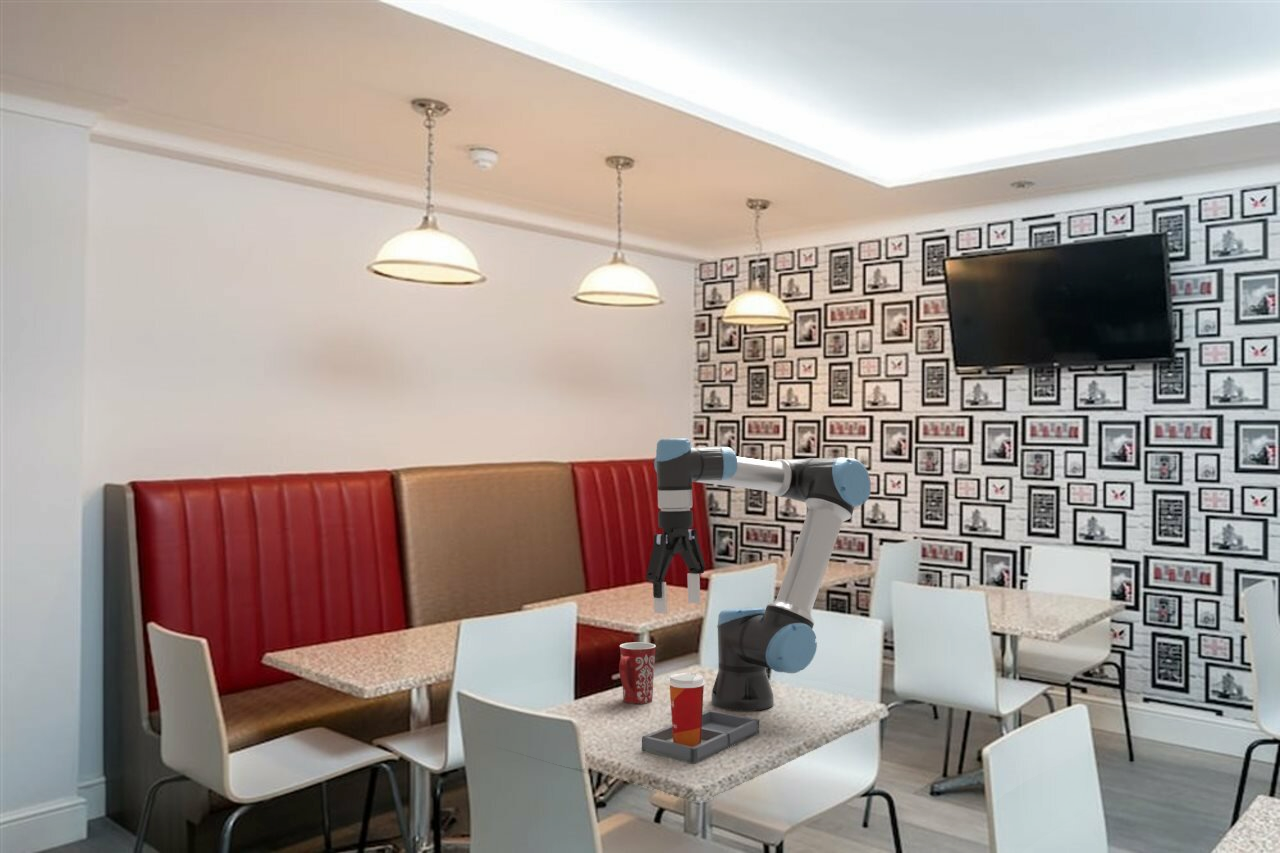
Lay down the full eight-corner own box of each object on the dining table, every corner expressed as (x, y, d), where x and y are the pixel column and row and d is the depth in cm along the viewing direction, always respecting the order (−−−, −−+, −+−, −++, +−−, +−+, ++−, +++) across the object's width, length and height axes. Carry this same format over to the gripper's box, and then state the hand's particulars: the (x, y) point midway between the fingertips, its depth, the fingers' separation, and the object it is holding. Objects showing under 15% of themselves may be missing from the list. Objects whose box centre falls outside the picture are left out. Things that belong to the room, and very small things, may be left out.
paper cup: (679, 737, 187) (679, 670, 188) (712, 743, 183) (711, 675, 184) (661, 747, 181) (660, 678, 181) (694, 753, 177) (694, 683, 177)
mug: (631, 693, 226) (631, 640, 227) (662, 698, 221) (662, 643, 222) (604, 705, 215) (604, 649, 216) (636, 710, 210) (636, 653, 211)
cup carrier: (709, 722, 200) (709, 709, 201) (759, 732, 192) (759, 719, 193) (641, 750, 181) (641, 736, 181) (694, 763, 173) (694, 749, 173)
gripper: (690, 505, 204) (693, 598, 203) (627, 513, 184) (630, 616, 183) (718, 506, 200) (721, 600, 199) (657, 514, 179) (660, 619, 179)
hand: (677, 608), depth 191 cm, fingers open, 13 cm apart
